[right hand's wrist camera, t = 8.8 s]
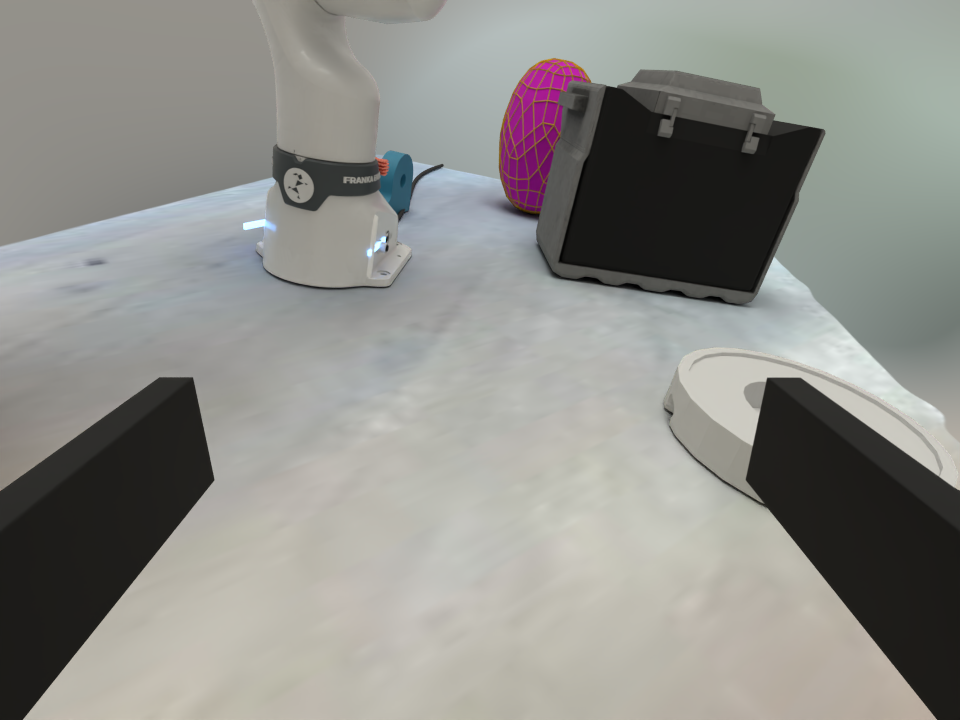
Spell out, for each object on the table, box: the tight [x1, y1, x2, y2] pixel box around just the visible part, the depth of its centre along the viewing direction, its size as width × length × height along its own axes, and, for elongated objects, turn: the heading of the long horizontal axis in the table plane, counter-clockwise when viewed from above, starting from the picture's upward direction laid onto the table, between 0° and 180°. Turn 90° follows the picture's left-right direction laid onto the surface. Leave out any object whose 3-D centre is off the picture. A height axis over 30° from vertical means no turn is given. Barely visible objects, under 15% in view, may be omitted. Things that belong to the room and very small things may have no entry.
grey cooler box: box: [536, 70, 825, 304], centre depth 87 cm, size 37×22×30 cm, turn 93°
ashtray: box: [664, 348, 959, 504], centre depth 50 cm, size 23×23×4 cm
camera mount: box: [379, 151, 413, 215], centre depth 93 cm, size 18×10×10 cm, turn 164°
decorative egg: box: [499, 58, 591, 214], centre depth 114 cm, size 19×19×30 cm
